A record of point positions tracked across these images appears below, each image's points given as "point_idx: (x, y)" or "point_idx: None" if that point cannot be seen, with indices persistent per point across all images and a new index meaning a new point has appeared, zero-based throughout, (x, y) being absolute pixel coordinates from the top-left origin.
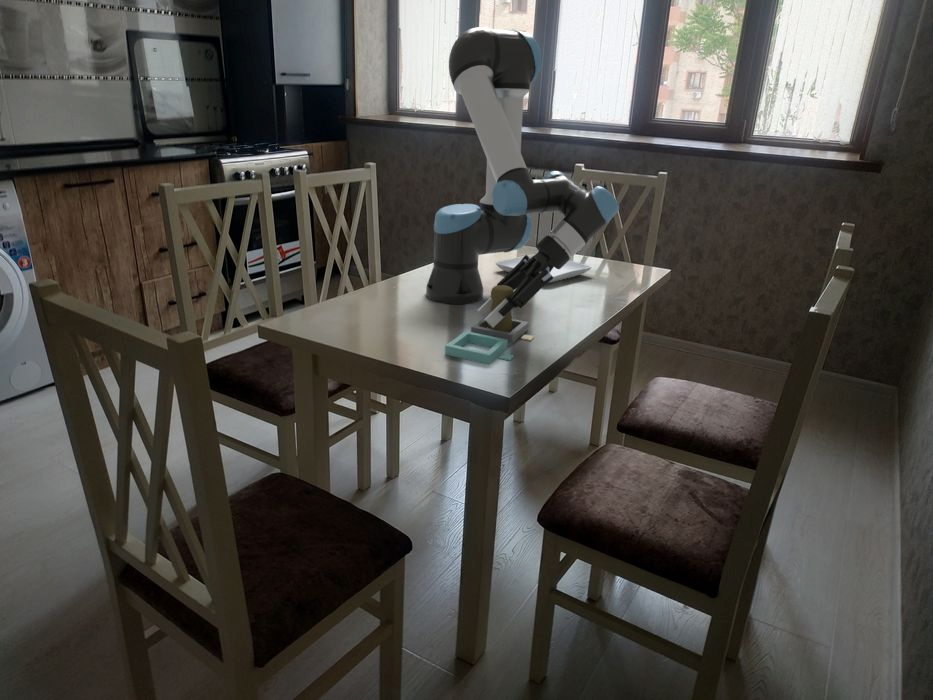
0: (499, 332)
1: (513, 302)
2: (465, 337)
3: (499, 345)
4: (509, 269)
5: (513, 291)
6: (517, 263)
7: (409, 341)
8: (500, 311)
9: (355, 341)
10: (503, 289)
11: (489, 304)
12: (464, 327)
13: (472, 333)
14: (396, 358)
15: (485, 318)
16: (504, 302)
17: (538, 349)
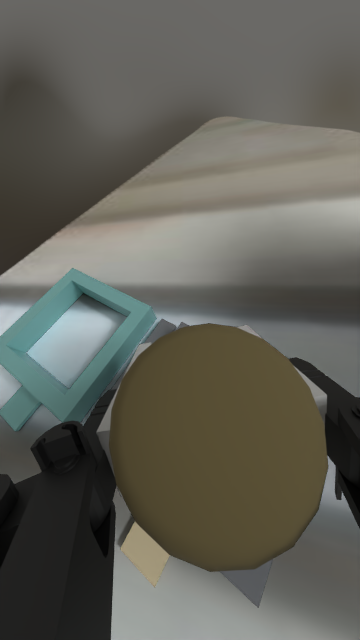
0: None
1: (20, 482)
2: (120, 308)
3: (29, 386)
4: None
5: (188, 562)
6: None
7: (155, 231)
8: (107, 394)
9: (161, 180)
10: (132, 408)
11: None
12: (243, 321)
13: (130, 321)
14: (89, 223)
15: (146, 344)
16: (108, 417)
17: None
